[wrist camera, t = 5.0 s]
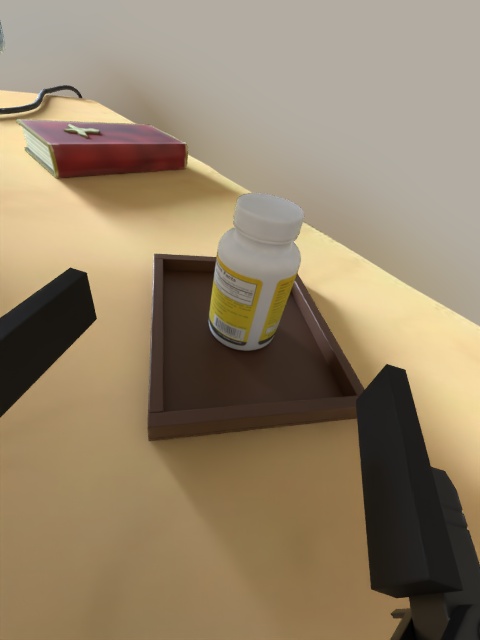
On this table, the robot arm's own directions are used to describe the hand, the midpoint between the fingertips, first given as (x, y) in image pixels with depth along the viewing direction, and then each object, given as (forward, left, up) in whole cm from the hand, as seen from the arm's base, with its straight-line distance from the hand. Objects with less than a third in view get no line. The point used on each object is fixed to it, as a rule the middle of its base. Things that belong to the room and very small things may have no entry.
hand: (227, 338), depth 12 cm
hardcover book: (-46, -11, -7) cm, 48 cm away
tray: (-7, +3, -7) cm, 10 cm away
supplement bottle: (-7, +3, -7) cm, 10 cm away
